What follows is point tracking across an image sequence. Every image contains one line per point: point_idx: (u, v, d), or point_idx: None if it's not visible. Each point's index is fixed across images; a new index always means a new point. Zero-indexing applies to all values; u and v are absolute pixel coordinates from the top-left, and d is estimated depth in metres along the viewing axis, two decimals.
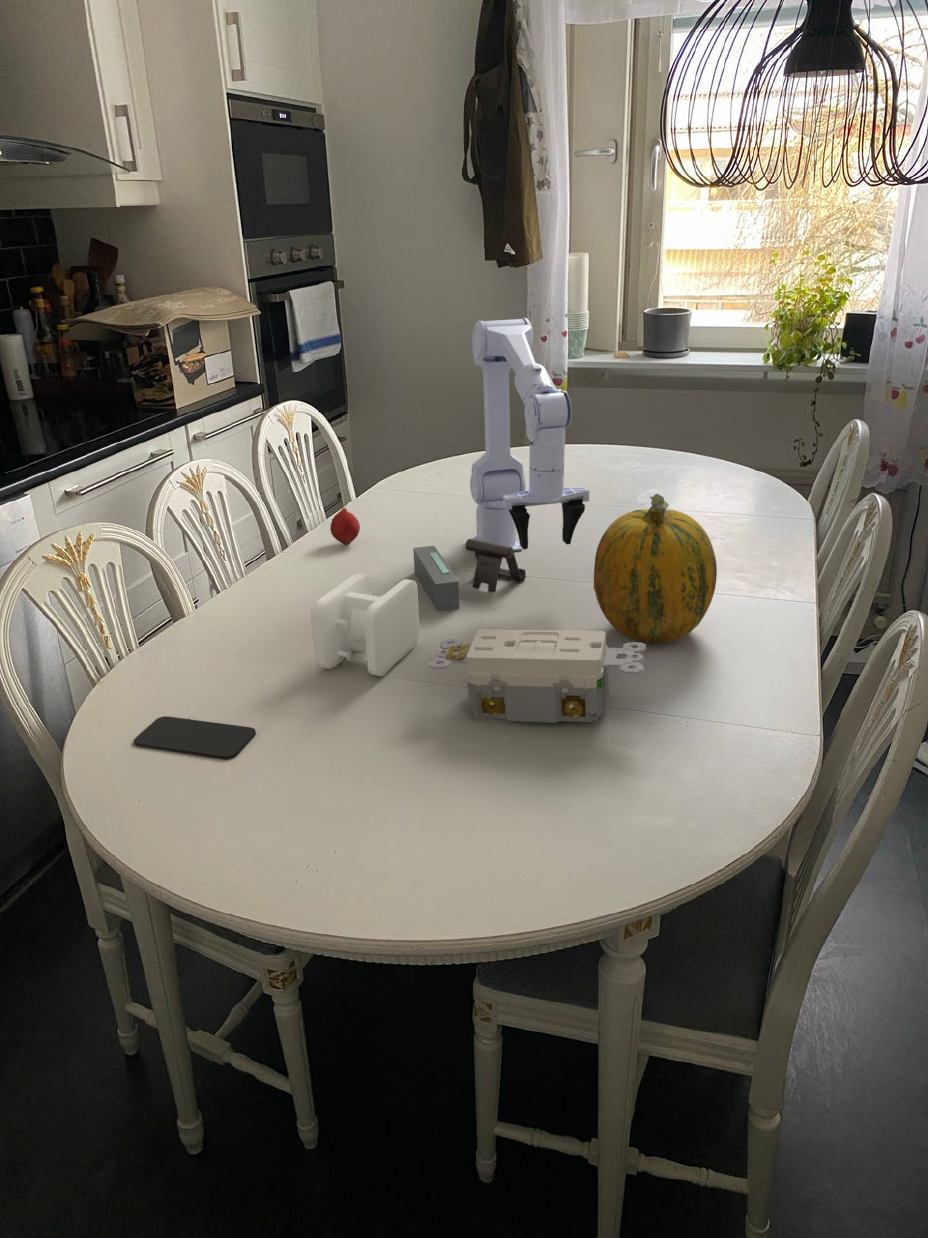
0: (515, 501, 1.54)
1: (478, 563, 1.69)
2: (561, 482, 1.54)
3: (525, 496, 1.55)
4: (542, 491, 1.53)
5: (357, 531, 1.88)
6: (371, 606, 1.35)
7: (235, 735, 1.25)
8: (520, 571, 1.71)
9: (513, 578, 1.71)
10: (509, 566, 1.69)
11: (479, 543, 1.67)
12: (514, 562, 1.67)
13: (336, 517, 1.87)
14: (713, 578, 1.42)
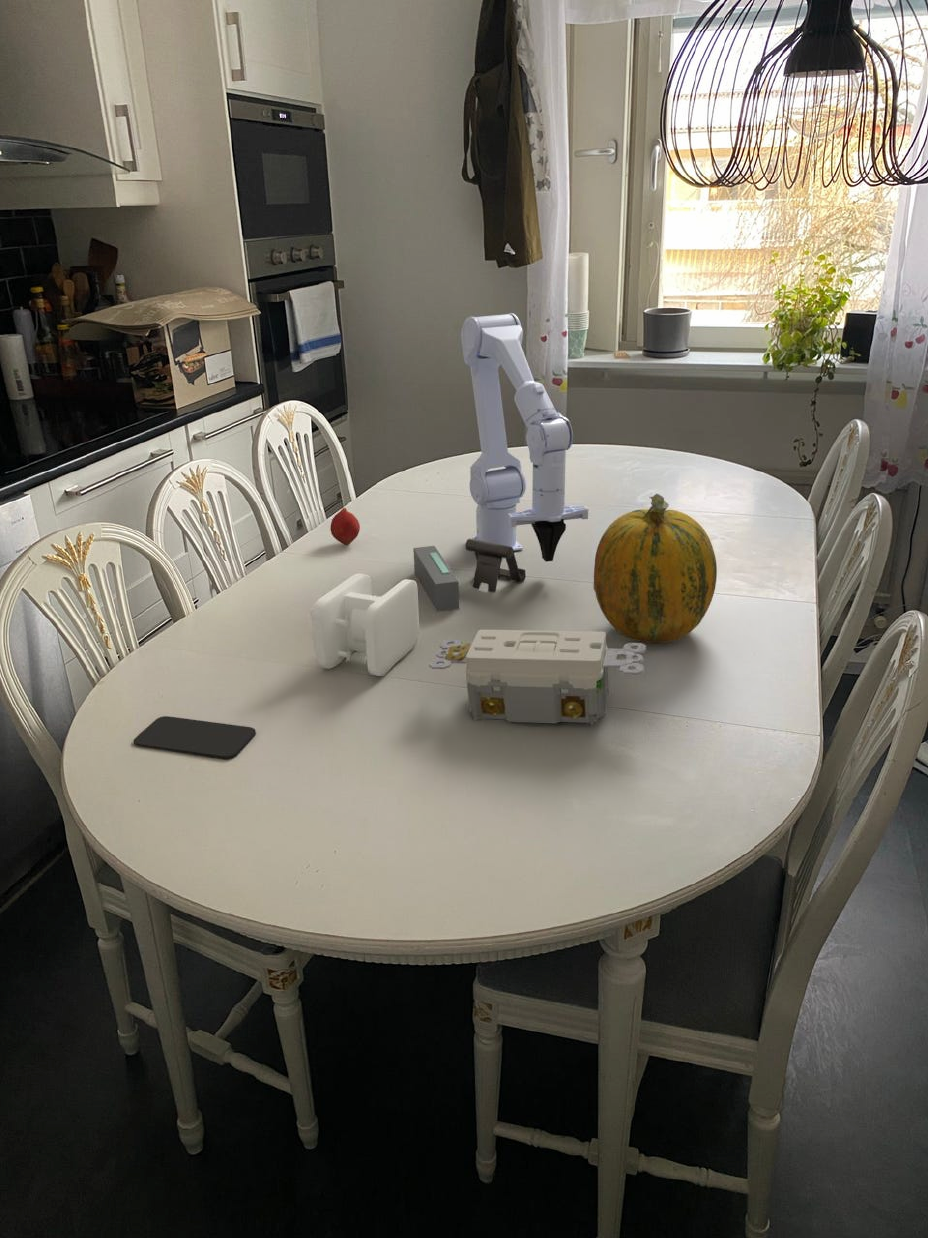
0: (519, 519, 1.66)
1: (478, 563, 1.69)
2: (562, 501, 1.66)
3: (529, 514, 1.67)
4: (544, 510, 1.65)
5: (357, 531, 1.88)
6: (371, 606, 1.35)
7: (235, 735, 1.25)
8: (520, 571, 1.71)
9: (513, 578, 1.71)
10: (509, 566, 1.69)
11: (479, 543, 1.67)
12: (514, 562, 1.67)
13: (336, 517, 1.87)
14: (713, 578, 1.42)
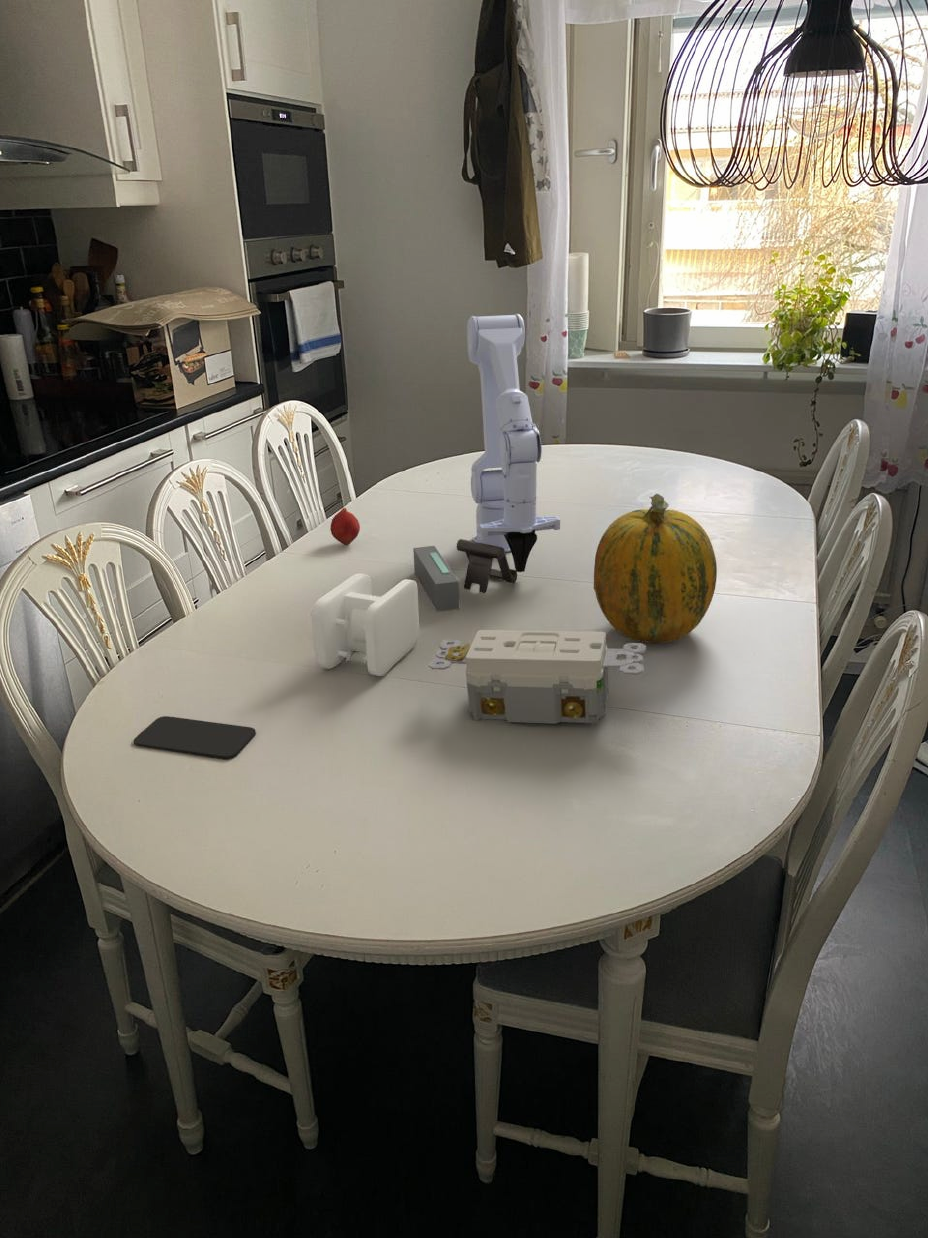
0: (491, 530, 1.65)
1: (469, 563, 1.68)
2: (533, 512, 1.65)
3: (500, 525, 1.67)
4: (516, 521, 1.65)
5: (357, 531, 1.88)
6: (371, 606, 1.35)
7: (235, 735, 1.25)
8: (512, 572, 1.71)
9: (504, 578, 1.71)
10: (500, 567, 1.69)
11: (470, 543, 1.66)
12: (505, 563, 1.67)
13: (336, 517, 1.87)
14: (713, 578, 1.42)
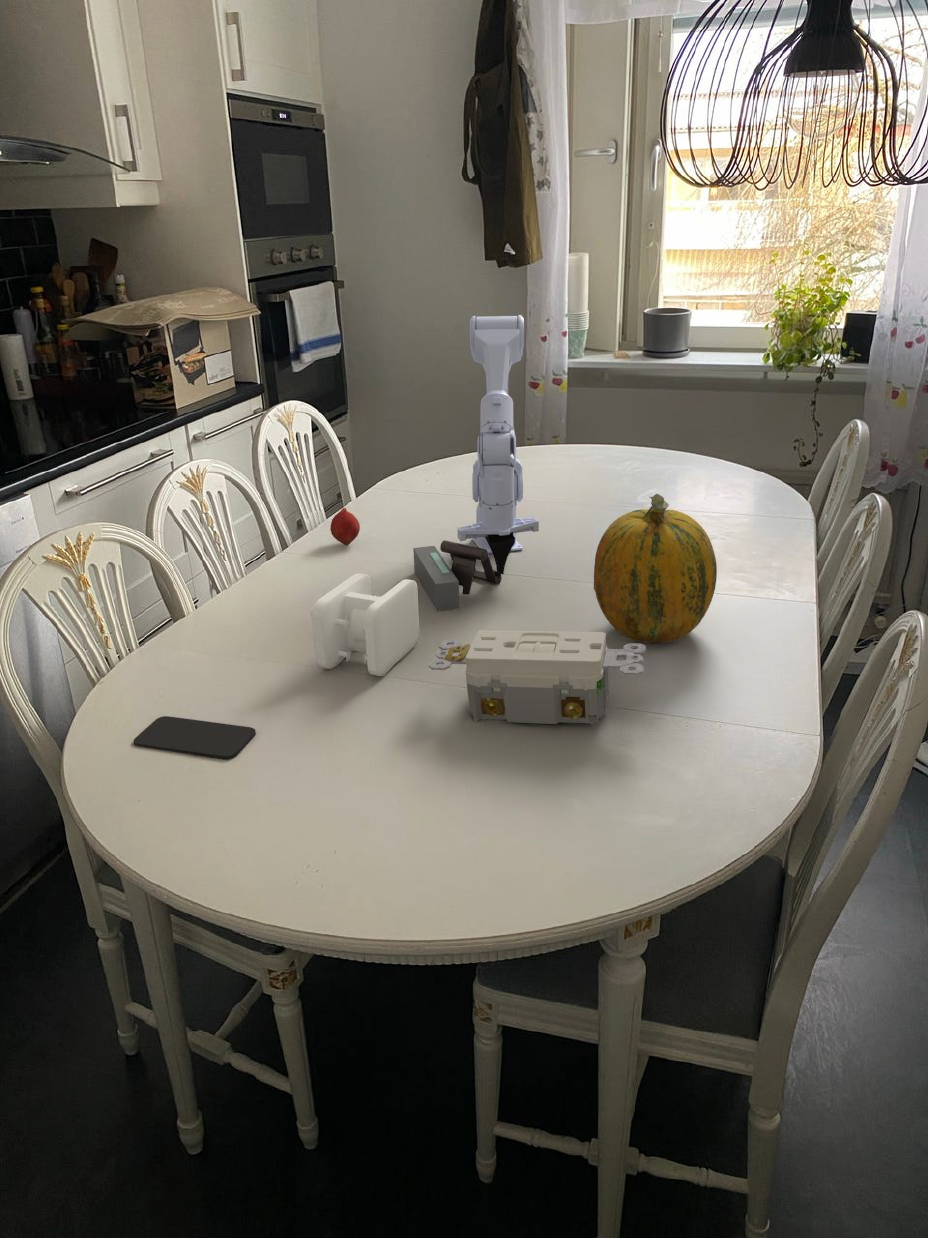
0: (469, 533, 1.65)
1: (453, 565, 1.68)
2: (511, 514, 1.64)
3: (478, 528, 1.66)
4: (494, 524, 1.64)
5: (357, 531, 1.88)
6: (371, 606, 1.35)
7: (235, 735, 1.25)
8: (496, 573, 1.70)
9: (488, 580, 1.70)
10: (484, 568, 1.68)
11: (454, 545, 1.66)
12: (489, 564, 1.66)
13: (336, 517, 1.87)
14: (713, 578, 1.42)
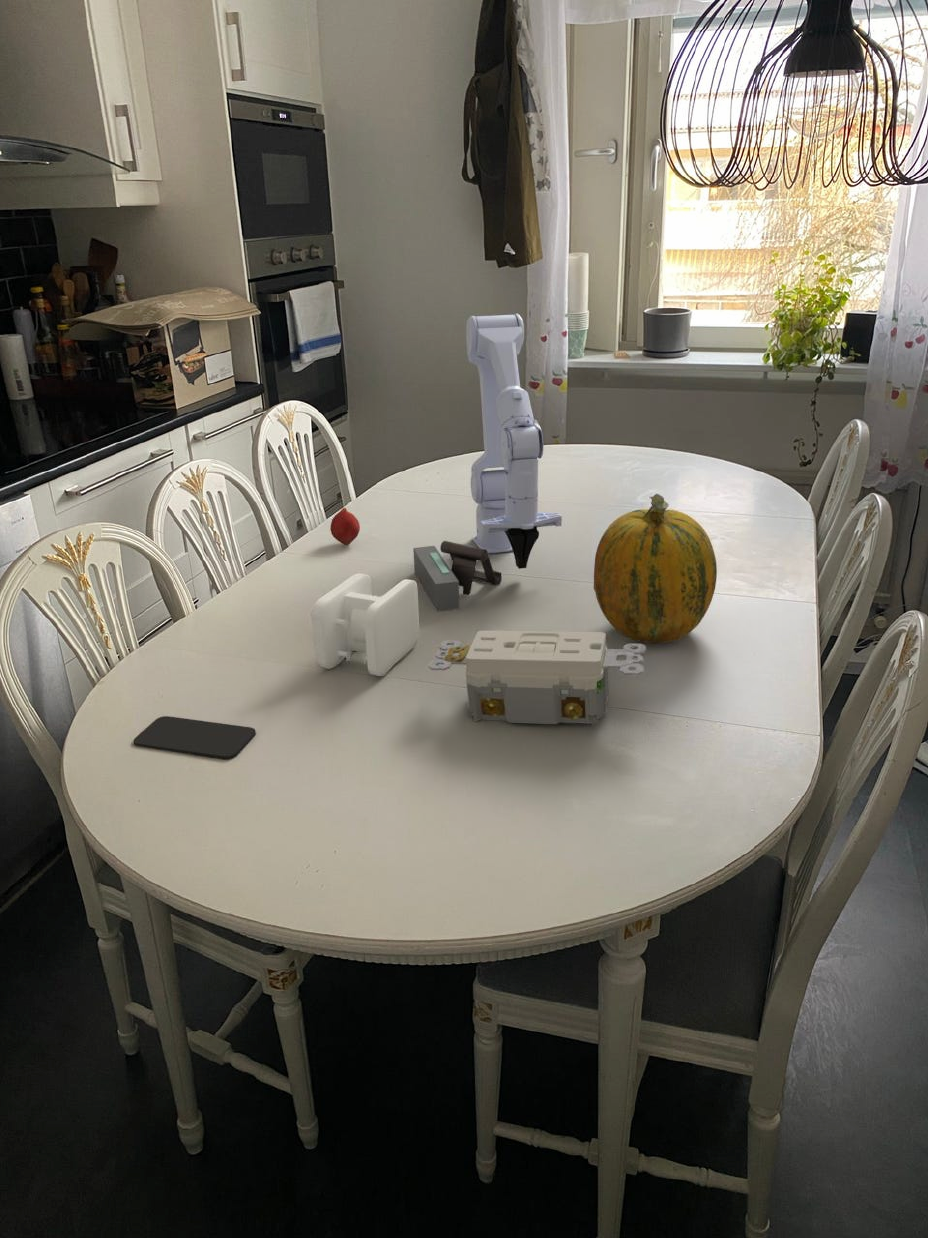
0: (492, 526, 1.65)
1: (453, 565, 1.68)
2: (535, 509, 1.65)
3: (501, 521, 1.66)
4: (517, 517, 1.64)
5: (357, 531, 1.88)
6: (371, 606, 1.35)
7: (235, 735, 1.25)
8: (496, 574, 1.70)
9: (488, 580, 1.70)
10: (484, 569, 1.68)
11: (454, 545, 1.66)
12: (489, 565, 1.67)
13: (336, 517, 1.87)
14: (713, 578, 1.42)
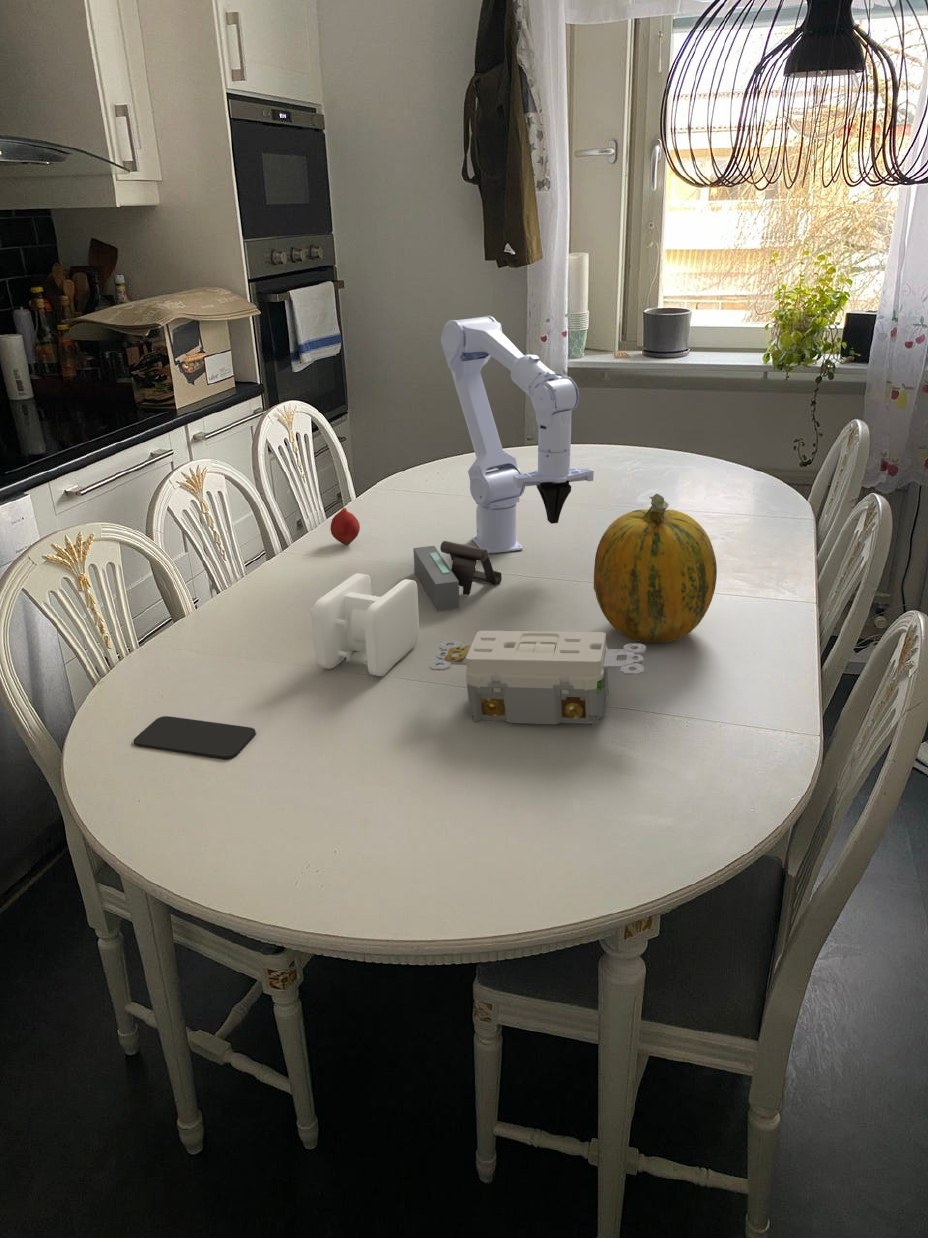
0: (525, 480, 1.67)
1: (453, 565, 1.68)
2: (567, 462, 1.66)
3: (534, 476, 1.68)
4: (550, 471, 1.66)
5: (357, 531, 1.88)
6: (371, 606, 1.35)
7: (235, 735, 1.25)
8: (496, 574, 1.70)
9: (488, 580, 1.70)
10: (484, 569, 1.68)
11: (454, 545, 1.66)
12: (489, 565, 1.67)
13: (336, 517, 1.87)
14: (713, 578, 1.42)
